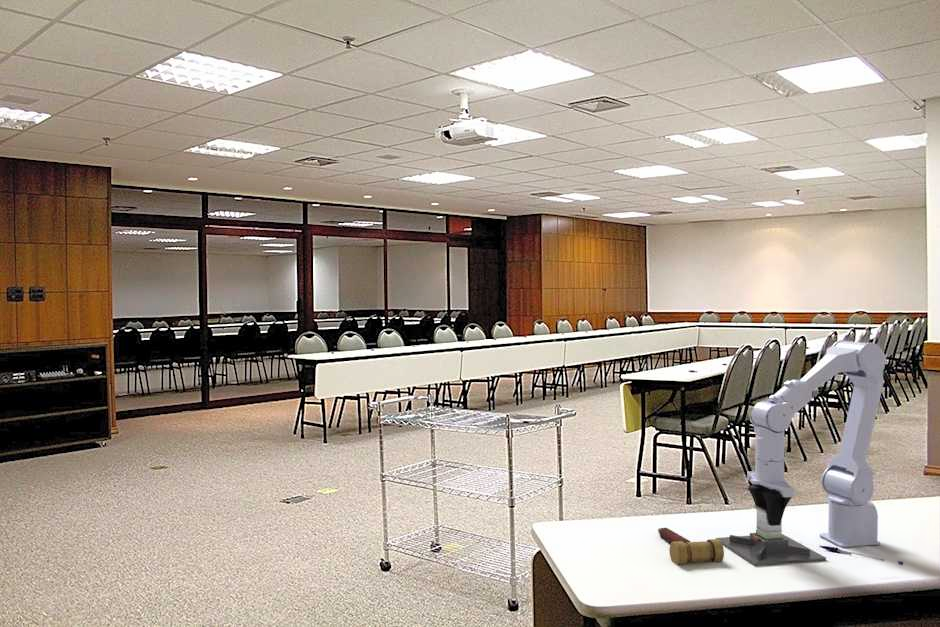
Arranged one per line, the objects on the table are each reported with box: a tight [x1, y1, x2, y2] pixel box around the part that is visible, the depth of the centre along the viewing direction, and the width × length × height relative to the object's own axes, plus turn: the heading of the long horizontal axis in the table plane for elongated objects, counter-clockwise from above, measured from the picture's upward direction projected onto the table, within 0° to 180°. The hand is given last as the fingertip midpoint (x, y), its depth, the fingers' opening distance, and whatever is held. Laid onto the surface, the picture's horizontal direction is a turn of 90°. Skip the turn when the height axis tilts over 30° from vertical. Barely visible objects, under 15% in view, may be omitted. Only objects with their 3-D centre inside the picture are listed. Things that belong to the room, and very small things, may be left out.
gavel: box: [657, 527, 725, 566], centre depth 169 cm, size 21×5×10 cm
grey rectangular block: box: [755, 506, 783, 540], centre depth 167 cm, size 4×4×6 cm
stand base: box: [715, 532, 827, 567], centre depth 167 cm, size 16×16×3 cm
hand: (769, 522), depth 167 cm, fingers closed on grey rectangular block, 4 cm apart
